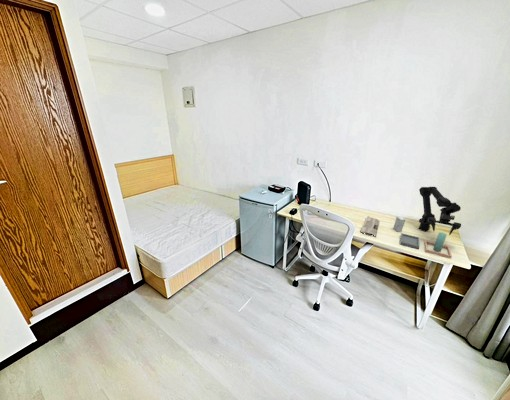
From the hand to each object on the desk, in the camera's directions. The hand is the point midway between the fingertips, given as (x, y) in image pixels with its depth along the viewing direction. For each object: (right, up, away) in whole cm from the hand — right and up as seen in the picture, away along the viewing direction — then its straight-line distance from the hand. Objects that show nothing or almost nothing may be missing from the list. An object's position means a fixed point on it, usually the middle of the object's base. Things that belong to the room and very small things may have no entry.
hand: (441, 233), depth 161 cm
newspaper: (-35, 0, +35) cm, 50 cm away
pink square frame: (-3, -13, 0) cm, 13 cm away
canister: (-3, -13, 0) cm, 13 cm away
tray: (-17, -9, +11) cm, 22 cm away
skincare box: (-14, -2, +29) cm, 32 cm away
